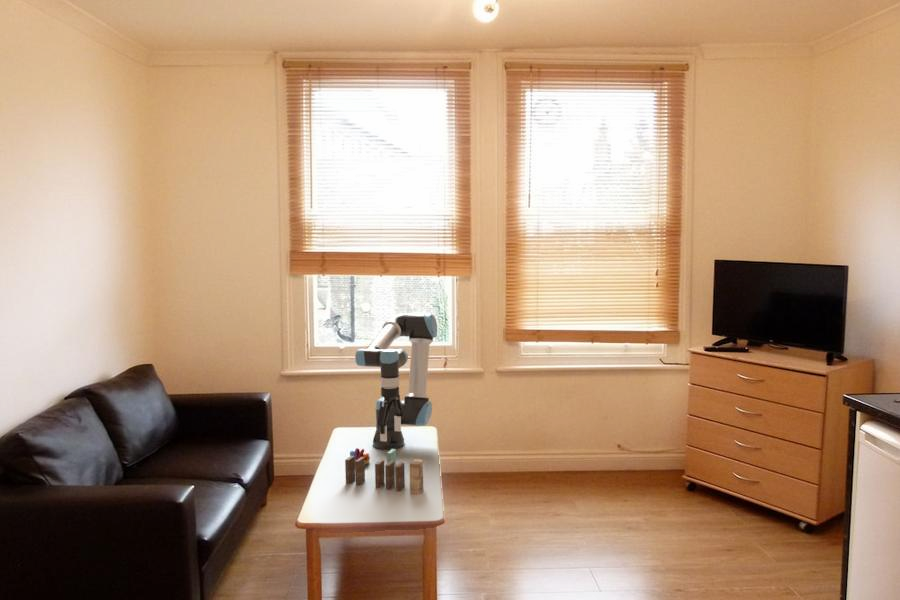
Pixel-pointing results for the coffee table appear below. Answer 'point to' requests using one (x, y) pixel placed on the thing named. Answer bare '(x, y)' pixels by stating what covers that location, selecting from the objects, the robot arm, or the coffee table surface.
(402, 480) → the domino
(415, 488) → the end block
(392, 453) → the teal domino
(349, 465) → the domino
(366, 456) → the colorful disc cluster
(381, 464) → the domino
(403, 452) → the coffee table surface
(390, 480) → the domino
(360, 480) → the domino
